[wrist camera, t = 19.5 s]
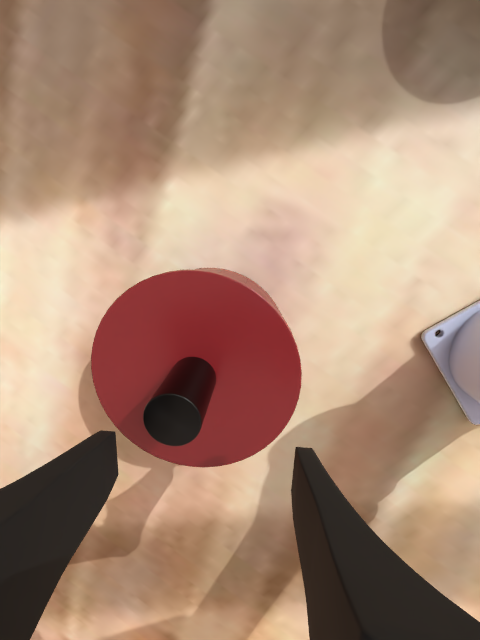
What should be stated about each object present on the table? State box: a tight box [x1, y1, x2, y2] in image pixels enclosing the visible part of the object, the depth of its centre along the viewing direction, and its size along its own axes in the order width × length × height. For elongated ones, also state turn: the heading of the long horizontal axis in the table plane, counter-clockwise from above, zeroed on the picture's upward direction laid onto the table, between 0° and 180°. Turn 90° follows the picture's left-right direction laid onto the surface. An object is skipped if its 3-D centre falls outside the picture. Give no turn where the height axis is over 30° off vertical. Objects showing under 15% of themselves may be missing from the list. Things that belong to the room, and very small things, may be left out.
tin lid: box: [91, 270, 302, 467], centre depth 15 cm, size 11×11×5 cm
